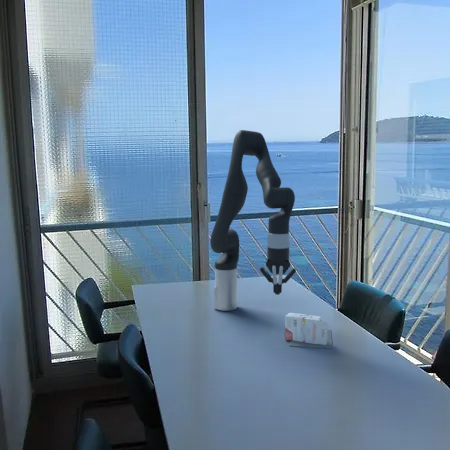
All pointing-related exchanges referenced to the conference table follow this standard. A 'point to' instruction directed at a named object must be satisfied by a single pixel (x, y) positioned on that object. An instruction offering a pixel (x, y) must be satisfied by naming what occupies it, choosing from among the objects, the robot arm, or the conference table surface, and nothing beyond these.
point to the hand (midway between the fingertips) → (277, 293)
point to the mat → (303, 344)
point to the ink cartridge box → (305, 328)
